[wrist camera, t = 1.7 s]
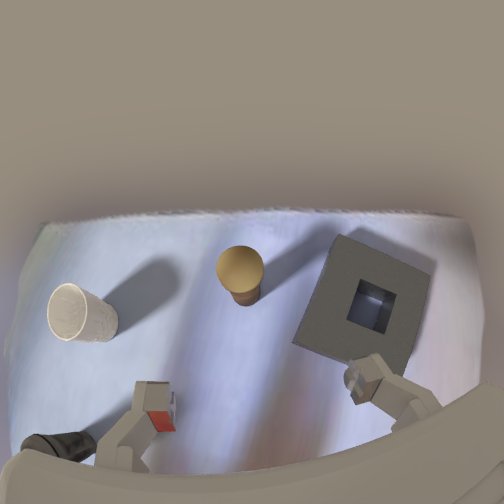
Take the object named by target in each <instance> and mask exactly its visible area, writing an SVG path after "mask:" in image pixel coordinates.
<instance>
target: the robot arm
mask: <svg viewBox="0 0 504 504" xmlns="http://www.w3.org/2000/svg"><path fill="white" fill-rule="evenodd" d="M348 367H349V368H348V369H347V370H346V371H345V373H344V383H345V386H346V388H347V389H348V390H350V391H351V395H350V396H351V397H352V399H353V401H354V403H355V405H358V404H362V403H365V402H369V401H370V402H371V403H373V404H374V405H375V406H377V407H378V408H380V409H381V410H383V411H384V412H385V413H387V414H388V415H390V416H391V417H393V418H394V419H396V422H395V423H394V424H393V426H392V427H391V430H392V433H390V434H388V435H385V436H383V437H380V438H378V439H375V440H373V441H370V442H367V443H364V444H362V445H359V446H356V447H353V448H350V449H347V450H344V451H341V452H337V453H334V454H330V455H327V456H323V457H320V458H316V459H312V460H308V461H303V462H299V463H294V464H289V465H284V466H279V467H273V468H267V469H261V470H253V471H245V472H236V473H224V474H206V475H168V474H150V473H149V468H148V467H147V466H146V465H145V464H144V462H143V461H142V460H141V459H140V458H141V456H142V455H143V453H144V452H145V451H146V449H147V448H148V446H149V445H150V443H151V442H152V441H153V439H154V438H155V436H156V435H157V433H158V432H176V418H175V415H174V413H175V412H176V399H175V395H174V392H173V391H172V385H171V382H155V381H136V383H135V388H134V394H133V401H132V408H131V411H130V410H128V411H127V412H126V413H125V414H124V415H123V416H122V417H121V418H120V419H119V420H118V421H117V422H116V424H115V425H114V426H113V427H112V428H111V429H110V430H109V431H108V432H107V433H106V434H105V435H104V436H103V437H102V438H101V439H100V440H99V441H98V444H97V450H96V456H95V463H94V466H91V465H86V464H82V463H77V462H73V461H69V460H65V459H62V458H58V457H55V456H51V455H48V454H45V453H42V452H39V451H36V450H33V449H24V450H22V451H21V452H19V453H18V454H16V455H15V456H14V457H12V458H11V459H10V460H9V461H7V462H6V464H5V465H4V467H3V470H2V472H1V475H0V504H504V389H503V388H501V387H499V386H497V385H494V384H492V383H489V382H483V383H481V384H479V385H478V386H476V387H475V388H473V389H472V390H470V391H469V392H467V393H466V394H464V395H463V396H461V397H459V398H458V399H456V400H454V401H453V402H451V403H449V404H448V405H446V406H444V407H442V406H441V404H440V403H439V402H438V400H437V399H436V397H435V396H434V395H433V393H432V392H431V391H430V390H428V389H426V388H424V387H421V386H419V385H417V384H415V383H413V382H411V381H409V380H407V379H405V378H403V377H401V376H399V375H397V374H393V373H392V372H391V370H390V369H389V367H388V366H387V364H386V363H385V361H384V360H383V359H382V357H381V356H380V354H378V353H374V354H371V355H366V356H362V357H358V358H355V359H351V360H350V361H349V362H348Z"/></svg>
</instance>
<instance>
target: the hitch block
mask: <svg viewBox="0 0 504 504" xmlns="http://www.w3.org/2000/svg"><path fill="white" fill-rule="evenodd" d="M429 279H430V275H428V274H426V273H424V272H422V271H420V270H418V269H416V268H414V267H411V266H409V265H407V264H405V263H403V262H401V261H399V260H397V259H394V258H392V257H390V256H388V255H386V254H384V253H381V252H379V251H377V250H375V249H373V248H370V247H368V246H366V245H364V244H361V243H359V242H357V241H354V240H352V239H350V238H348V237H345V236H343V235H341V234H338V235H337V237H336V239H335V240H334V242H333V244H332V246H331V247H330V250H329V253H328V256H327V258H326V261H325V264H324V266H323V269H322V271H321V274H320V277H319V279H318V282H317V284H316V287H315V289H314V292H313V294H312V297H311V299H310V302H309V304H308V306H307V309H306V311H305V314H304V316H303V318H302V321H301V323H300V325H299V327H298V330H297V332H296V334H295V337H294V339H293V341H292V343H293V344H296V345H298V346H300V347H303V348H305V349H308V350H310V351H313V352H315V353H318V354H320V355H323V356H325V357H328V358H331V359H333V360H336V361H338V362H341V363H344V364H346V365H348V362H349V361H350V360H351V359H355V358H358V357H362V356H366V355H371V354H374V353H378V354H380V356H381V357H382V359H383V360H384V361H385V363H386V364H387V366H388V367H389V369H390V370H391V372H392V373H393V374H397V375H399V376H401V377H403V374H404V371H405V368H406V366H407V363H408V360H409V357H410V354H411V350H412V347H413V344H414V341H415V337H416V334H417V330H418V327H419V323H420V319H421V315H422V311H423V307H424V303H425V299H426V294H427V289H428V284H429ZM356 290H357V291H359V292H361V293H364V294H366V295H368V296H371V297H373V298H375V299H378V300H380V301H382V306H381V309H380V312H379V315H378V318H377V321H376V324H375V327H374V330H371V329H368V328H366V327H363V326H361V325H358V324H356V323H353V322H351V321H348V320H346V318H347V316H348V313H349V310H350V307H351V305H352V302H353V299H354V296H355V293H356Z"/></svg>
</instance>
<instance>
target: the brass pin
mask: <svg viewBox="0 0 504 504" xmlns="http://www.w3.org/2000/svg"><path fill="white" fill-rule="evenodd" d="M216 272H217V276H218V279H219V280H220V282H221V284H222V285H223V287H224V288H225V289H227V290H228V291H230V292H231V294H232V296H233V298H234V300H235V302H236V303H238V304H239V305H241V306H251V305H253V304H254V303H256V302H257V300H258V299H259V296H260V283H261V281H262V279H263V274H264V265H263V261H262V258H261V257H260V255H259V254H258V253H257V252H256V251H255V250H254V249H252V248H250V247H247V246H234V247H231V248H229V249H227V250H226V251H224V252H223V253H222V254H221V256H220V257H219V259H218V261H217V265H216Z"/></svg>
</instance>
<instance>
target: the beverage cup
mask: <svg viewBox="0 0 504 504" xmlns="http://www.w3.org/2000/svg"><path fill="white" fill-rule="evenodd" d="M24 449H33V450H36V451H39V452H42V453H45V454H48V455H51V456H55V457H58V458H62V459H65V460H69V461H73V462H77V463H80V462H81V461H83V460H85V459H86V458H88V457H89V456H91V455H92V454H93V453H94V452H95V451H96V444H95V442H94V440H93V438H92V437H91V436H90V435H89V434H87V433H86V432H83V431H81V432H71V433H63V434H54V435H39V434H33V435H31V436H29V437H28V438H26V439H25V440H24V441H23V443H22V445H21V451H22V450H24Z"/></svg>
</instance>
